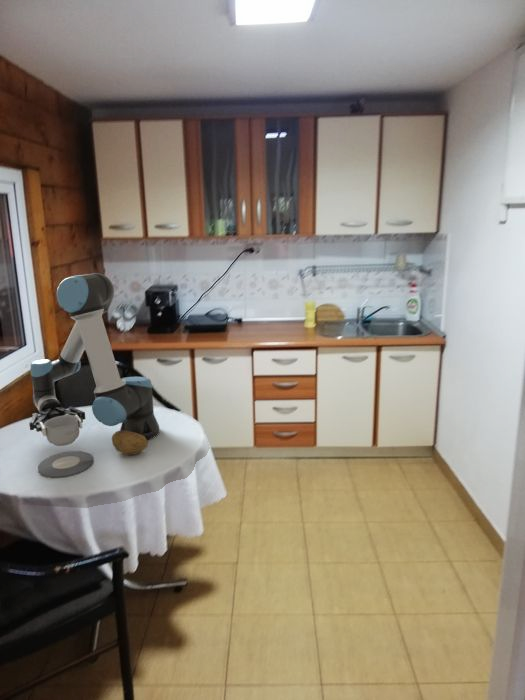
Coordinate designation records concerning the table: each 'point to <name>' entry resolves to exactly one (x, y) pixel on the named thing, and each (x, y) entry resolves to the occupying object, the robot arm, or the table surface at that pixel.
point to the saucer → (65, 464)
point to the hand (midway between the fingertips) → (63, 428)
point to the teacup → (62, 430)
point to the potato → (129, 442)
